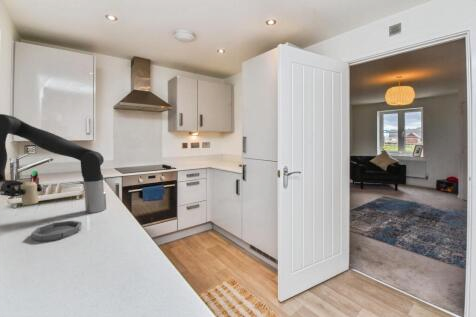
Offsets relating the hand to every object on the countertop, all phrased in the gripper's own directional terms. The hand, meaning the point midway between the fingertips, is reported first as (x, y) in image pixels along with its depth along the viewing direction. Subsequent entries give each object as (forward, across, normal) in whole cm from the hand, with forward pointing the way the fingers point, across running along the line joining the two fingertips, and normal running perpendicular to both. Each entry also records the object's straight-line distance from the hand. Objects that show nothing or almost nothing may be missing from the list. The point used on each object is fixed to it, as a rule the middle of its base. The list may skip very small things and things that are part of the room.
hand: (32, 190), depth 104 cm
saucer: (+15, 0, +17) cm, 23 cm away
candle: (-3, 0, +6) cm, 7 cm away
